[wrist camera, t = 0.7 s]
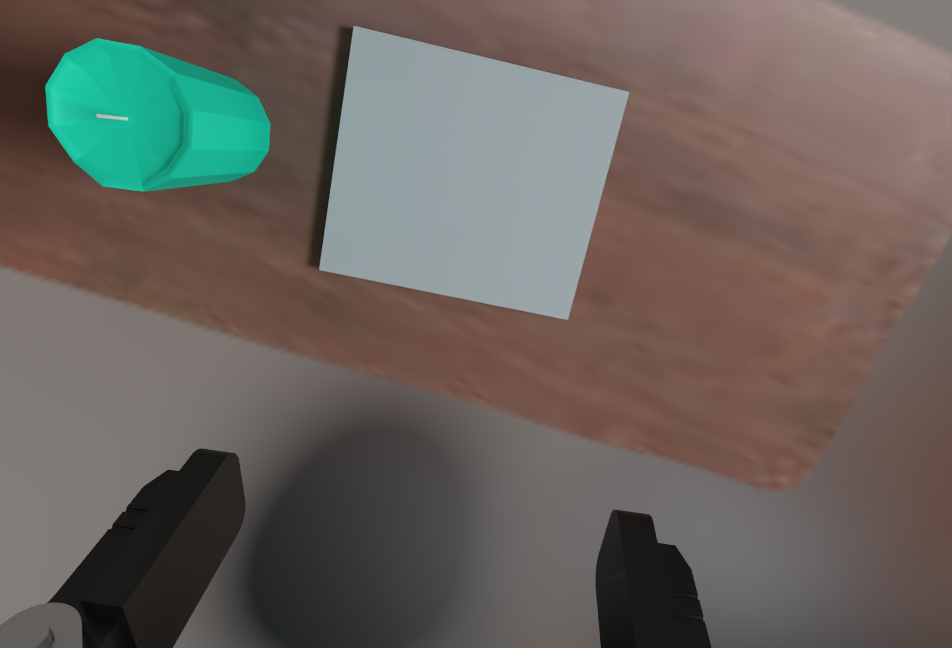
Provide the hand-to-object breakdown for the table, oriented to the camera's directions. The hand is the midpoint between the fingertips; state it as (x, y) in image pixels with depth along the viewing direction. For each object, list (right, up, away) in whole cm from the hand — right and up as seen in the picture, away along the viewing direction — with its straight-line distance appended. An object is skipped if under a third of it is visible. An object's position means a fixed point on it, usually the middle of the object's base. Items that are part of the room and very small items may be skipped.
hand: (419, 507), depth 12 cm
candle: (-14, +15, +22) cm, 30 cm away
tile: (+1, +13, +23) cm, 26 cm away
